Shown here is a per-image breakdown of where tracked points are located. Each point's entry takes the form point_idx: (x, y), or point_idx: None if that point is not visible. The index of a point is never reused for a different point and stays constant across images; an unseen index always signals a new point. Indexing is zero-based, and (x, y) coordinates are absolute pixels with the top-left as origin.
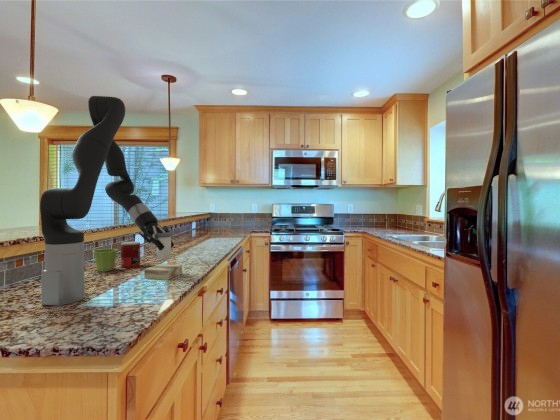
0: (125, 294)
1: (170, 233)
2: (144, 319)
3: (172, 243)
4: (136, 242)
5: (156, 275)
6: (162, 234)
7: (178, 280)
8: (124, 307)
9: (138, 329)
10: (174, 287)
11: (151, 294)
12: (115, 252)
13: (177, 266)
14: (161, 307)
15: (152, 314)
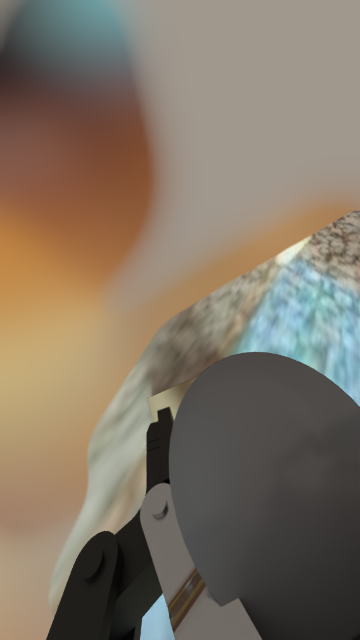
0: (350, 337)
1: (214, 364)
2: (330, 234)
3: (170, 413)
4: None
5: None
6: (316, 376)
7: (208, 342)
8: (353, 277)
9: (340, 221)
10: (244, 304)
11: (299, 299)
12: None
13: (172, 391)
14: (301, 247)
15: (318, 238)
